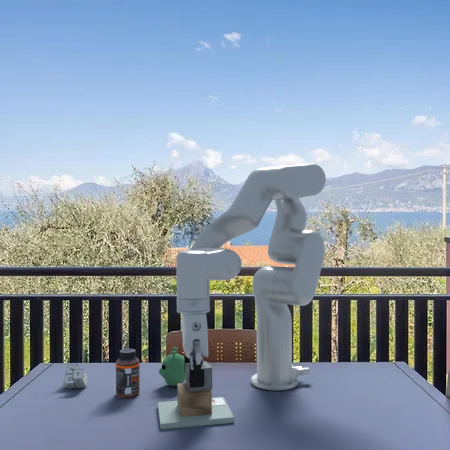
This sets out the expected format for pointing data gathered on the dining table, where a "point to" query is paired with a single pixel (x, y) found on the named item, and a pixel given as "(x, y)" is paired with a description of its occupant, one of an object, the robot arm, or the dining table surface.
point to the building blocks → (75, 377)
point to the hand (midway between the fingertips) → (194, 379)
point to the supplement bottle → (127, 374)
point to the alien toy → (173, 368)
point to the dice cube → (206, 377)
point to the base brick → (193, 401)
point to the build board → (172, 418)
